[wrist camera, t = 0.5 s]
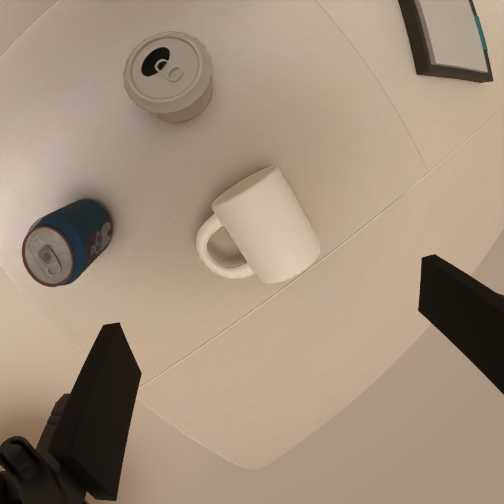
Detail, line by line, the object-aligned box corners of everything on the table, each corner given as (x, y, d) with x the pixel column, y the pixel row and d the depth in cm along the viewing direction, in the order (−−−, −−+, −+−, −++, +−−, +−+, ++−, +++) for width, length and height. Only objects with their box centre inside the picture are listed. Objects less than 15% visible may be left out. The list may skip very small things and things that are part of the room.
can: (175, 50, 30) (160, 10, 19) (226, 85, 33) (232, 56, 21) (134, 99, 32) (99, 80, 20) (183, 135, 34) (169, 129, 23)
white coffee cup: (269, 162, 36) (284, 166, 28) (310, 233, 39) (332, 254, 32) (181, 218, 37) (173, 236, 29) (227, 284, 40) (231, 315, 33)
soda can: (57, 213, 35) (6, 240, 23) (99, 187, 34) (54, 205, 23) (82, 261, 37) (40, 303, 25) (125, 238, 37) (91, 276, 25)
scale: (390, -23, 29) (404, -33, 25) (458, -5, 29) (473, -11, 26) (416, 74, 34) (434, 70, 30) (480, 82, 35) (498, 80, 31)
